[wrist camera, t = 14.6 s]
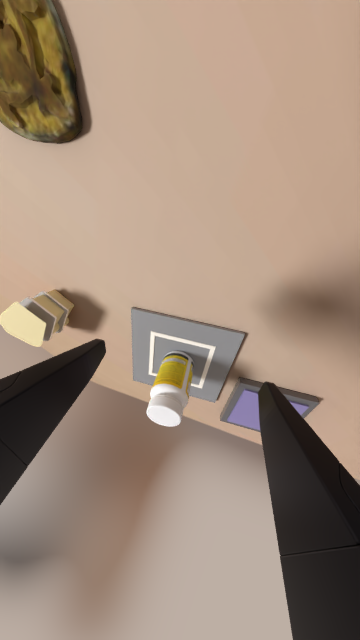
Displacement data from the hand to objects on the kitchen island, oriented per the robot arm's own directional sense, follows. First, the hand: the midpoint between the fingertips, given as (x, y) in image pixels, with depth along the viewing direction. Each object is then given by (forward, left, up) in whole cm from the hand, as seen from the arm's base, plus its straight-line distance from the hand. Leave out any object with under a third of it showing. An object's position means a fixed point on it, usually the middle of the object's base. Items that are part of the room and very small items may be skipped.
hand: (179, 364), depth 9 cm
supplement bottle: (+1, +12, -12) cm, 17 cm away
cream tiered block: (+21, +8, -13) cm, 26 cm away
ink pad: (-14, +18, -12) cm, 26 cm away
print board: (+1, +12, -12) cm, 17 cm away
